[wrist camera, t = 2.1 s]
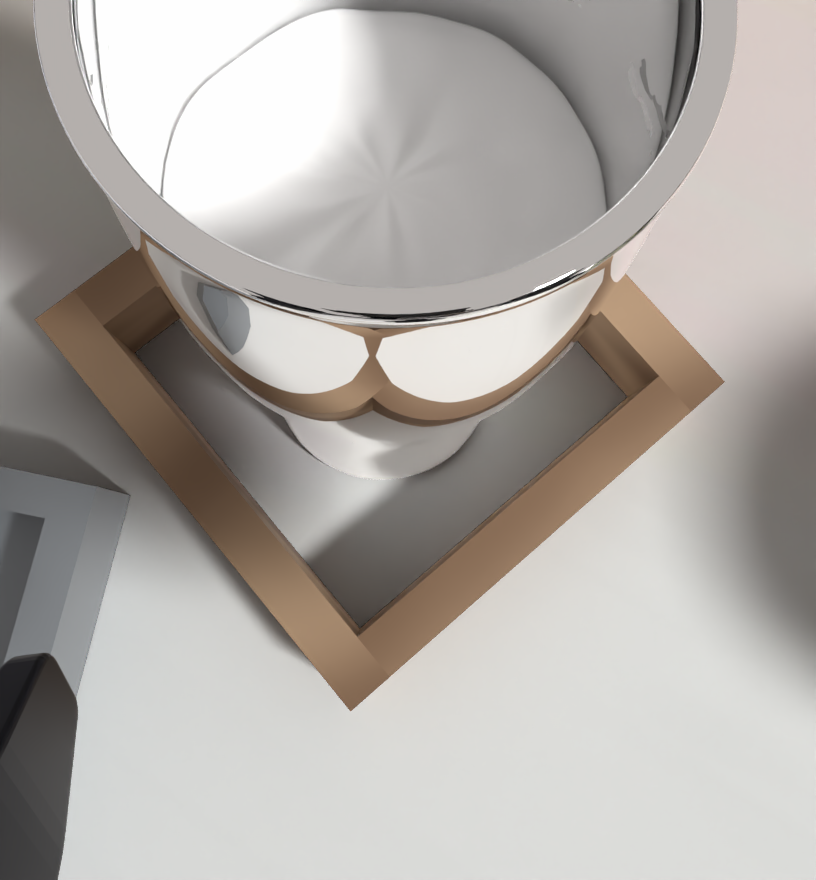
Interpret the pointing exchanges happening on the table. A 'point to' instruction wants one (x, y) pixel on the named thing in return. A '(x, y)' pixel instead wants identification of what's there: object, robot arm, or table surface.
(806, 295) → the table surface
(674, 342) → the walnut collar
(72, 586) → the coaster tray
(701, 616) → the table surface
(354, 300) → the shiny silver hollow cylinder
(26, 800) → the robot arm
